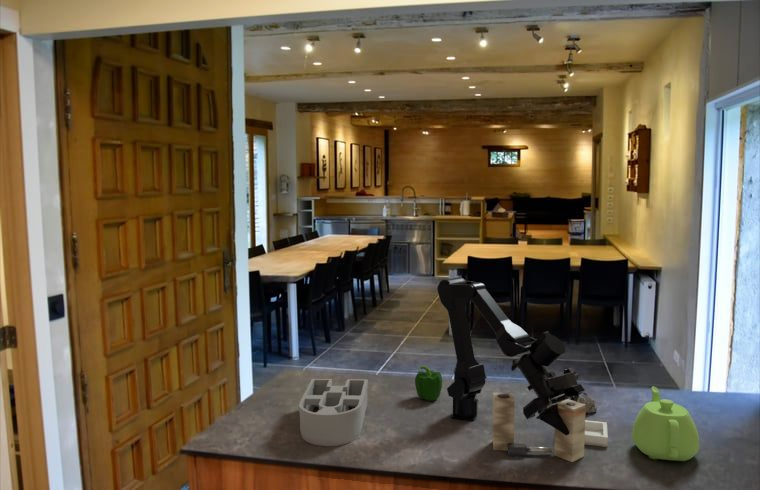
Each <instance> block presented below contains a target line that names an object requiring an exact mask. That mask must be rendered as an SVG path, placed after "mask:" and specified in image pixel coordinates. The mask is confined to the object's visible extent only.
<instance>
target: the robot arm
mask: <svg viewBox="0 0 760 490" xmlns="http://www.w3.org/2000/svg"><path fill="white" fill-rule="evenodd" d="M486 287H487V286H486V285H485V284H484V283H482V282H476V281H472V280H471V281H470V280H465V279H464V278H463V277H459V276H457V277H451V278H446V279H442V280H440V281H439V284H438V285H437V293H438V294H437V295H438V297H439V301H440V302H441V303H440V304H441V305H442V306H443V307H444V308H445V310H446V311H447V312H448V319H449V325H450V329H451V330H450V331H451V335H452V340H453V346H454V351H455V356H456V365H455V367H454V372H453V377H454V378H453V379H454V381H453V382H452V383H451V384H450V385H449V386H448V387H447V389H446V391H447V395H448V397H451V398H452V414H451V415H450V416H451V419H455V420H456V419H457V420H463V421H464V420H466V421H475V419H476V417H478V415H479V399H477V395H478V394H481V393H482V389H483V388H484V386H485V385H486V379H487V375H486V372H485V366H484V364H483V363H480V364H479V362H478V360H477V359H476V358H475V353H474V347H473V342H472V337H471V332H470V327H469V320H468V317H467V309H466V306H467V303H468V300H469V299H470V301H471V302H472V303H473V304H474V306H475V307H476V309H477V310H478V312H480V314H481V315H482V317H483V318H484V319H485V320H486V322H487V323H488V325H489V326H490V328H491V329H492V330H493V331H494V333H495V339H496V340H495V341H496V343H497V344H498V347H499V349H500V350H501V352H502V353H503V354H504V355H505V356H506V357H510V358H512V357H516V356H520V355H521V356H520V357H519V358H516V359H513V360H512V364H511V368H510V369H511V371H512V372H514V371H517V370H519V371H520V372H521V374H522V375H523V377H524V379H525V380H526V381H527V383H528V386H527V387H526V388H527V389H528V391H533V392H534V394H535V395H536V397H535V398H533V399H532V400H531V401H529V402H528V403H527V404H526V405H525V406H523V407H522V414H523V416H524V417H525V419H526V420H530V419H533V418H536V420H540V421H542V422H544V423H545V424H547V425H549V426H550V427H552V428H554V430H555V429H557V430H558V431H560V432H561V433H563V434H564V435H566V436H567V435H568V434H570V433H569V431H568V429H567V427H566V425H565V423H564V422H563V420H562V418H561V417H560V415H559V413H558V404H556V403H558V402H561V401H564V400H566V399H569V400H573V401H576V402H577V400H578V398H579V395H580V394H582V393H583V392H584V393H585V391H586V390H585V388H584V387H583V386H582V383H578V380H579V377H580V374H578V373H577V371H576V370H575V369H574V368H573V367H569V368H565V369H563V373H561V374H559V375H557V374H556V373H555V372H553V371H549V370H548V369H547V367H550V366H551V365H552V364H553V363H555V362H556V361H557V360H558V359H559V358H561V356H563V355H564V354H565V352H566V346H565V344H564V342H563V341H562V340H561V339H559V338H558V337H557V336H555V335H553V334H551V333H550V332H549V331H548V330H547V331H543V332H542V333H541V334H540V335H539V337H538V338H534V337H532V336H530V335H529V334H528V333H527V332H526V331H525V330H524V329H523V328H522V327H521V326H520V325H517V324H516V323H514V322H512V321H511V320H510V319H509V317H508V316H507V315H506V314H505V312H504V311H503V310H502V308H501V307H500V306H499V304H497V302H496V301H495V299H494V298H493V297H492V296H491V294H490V293H489V291H488V290H487V288H486ZM528 352H529V353H528ZM536 413H537V414H538V415H537V416H536Z"/></svg>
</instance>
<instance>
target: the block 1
mask: <svg viewBox="0 0 760 490" xmlns="http://www.w3.org/2000/svg"><path fill="white" fill-rule="evenodd" d="M508 443H515V396H514V392H513V393H511V392H492V448H493V451H506V452H507V448H508Z"/></svg>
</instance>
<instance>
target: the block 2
mask: <svg viewBox="0 0 760 490" xmlns="http://www.w3.org/2000/svg"><path fill="white" fill-rule="evenodd" d="M556 404H558V413H559V415H560V417H561V418H562V420H563V422H564V423H565V425H566V427H567V429H568V431H569V433H570V434H568V435H567V436H566V435H564V434H563V433H561V432H560V431H558V430H557V429H555V428H554V451H553V454H554V455H553V456H556V457H557V458H561V459H562V460H565V461H568V462H571V463H574V462H576V461H578V460H580V459H582V458H583V457H585V444H584V442H585V420H586V414H587V413H586V404H582V403H579V402H576V401H573V400H569V399H566V400H564V401H561V402H559V403H556Z"/></svg>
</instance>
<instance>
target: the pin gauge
mask: <svg viewBox="0 0 760 490" xmlns="http://www.w3.org/2000/svg"><path fill="white" fill-rule="evenodd" d="M506 452H507V454H508V456H509V457H528V454H552V453H553V449H552V446H527V443H519V442H518V443H516V442H514V443H508V448H507V451H506Z"/></svg>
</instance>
